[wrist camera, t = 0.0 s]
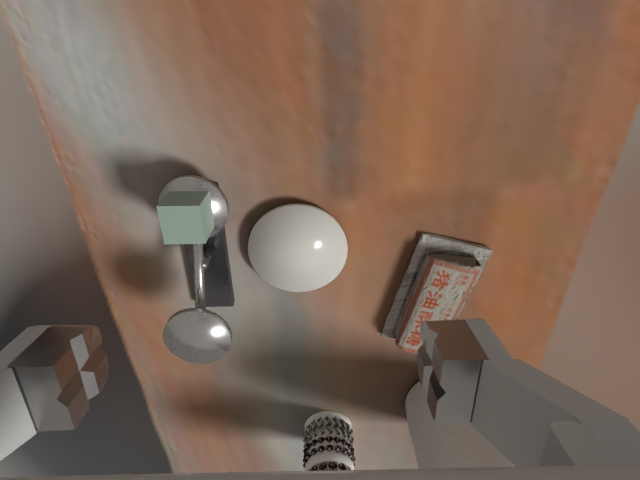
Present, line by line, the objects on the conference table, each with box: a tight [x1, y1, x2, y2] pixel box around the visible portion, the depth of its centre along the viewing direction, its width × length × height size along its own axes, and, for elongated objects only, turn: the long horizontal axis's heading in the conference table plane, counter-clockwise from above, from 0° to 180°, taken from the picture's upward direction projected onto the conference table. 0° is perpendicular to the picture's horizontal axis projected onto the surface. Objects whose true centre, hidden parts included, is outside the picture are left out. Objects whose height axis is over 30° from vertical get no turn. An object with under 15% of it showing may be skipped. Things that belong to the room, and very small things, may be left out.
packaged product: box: [381, 233, 493, 354], centre depth 56 cm, size 18×5×10 cm
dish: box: [248, 203, 348, 292], centre depth 53 cm, size 13×13×2 cm
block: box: [156, 191, 214, 244], centre depth 45 cm, size 4×4×4 cm
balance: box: [158, 175, 234, 363], centre depth 49 cm, size 22×8×10 cm, turn 0°
